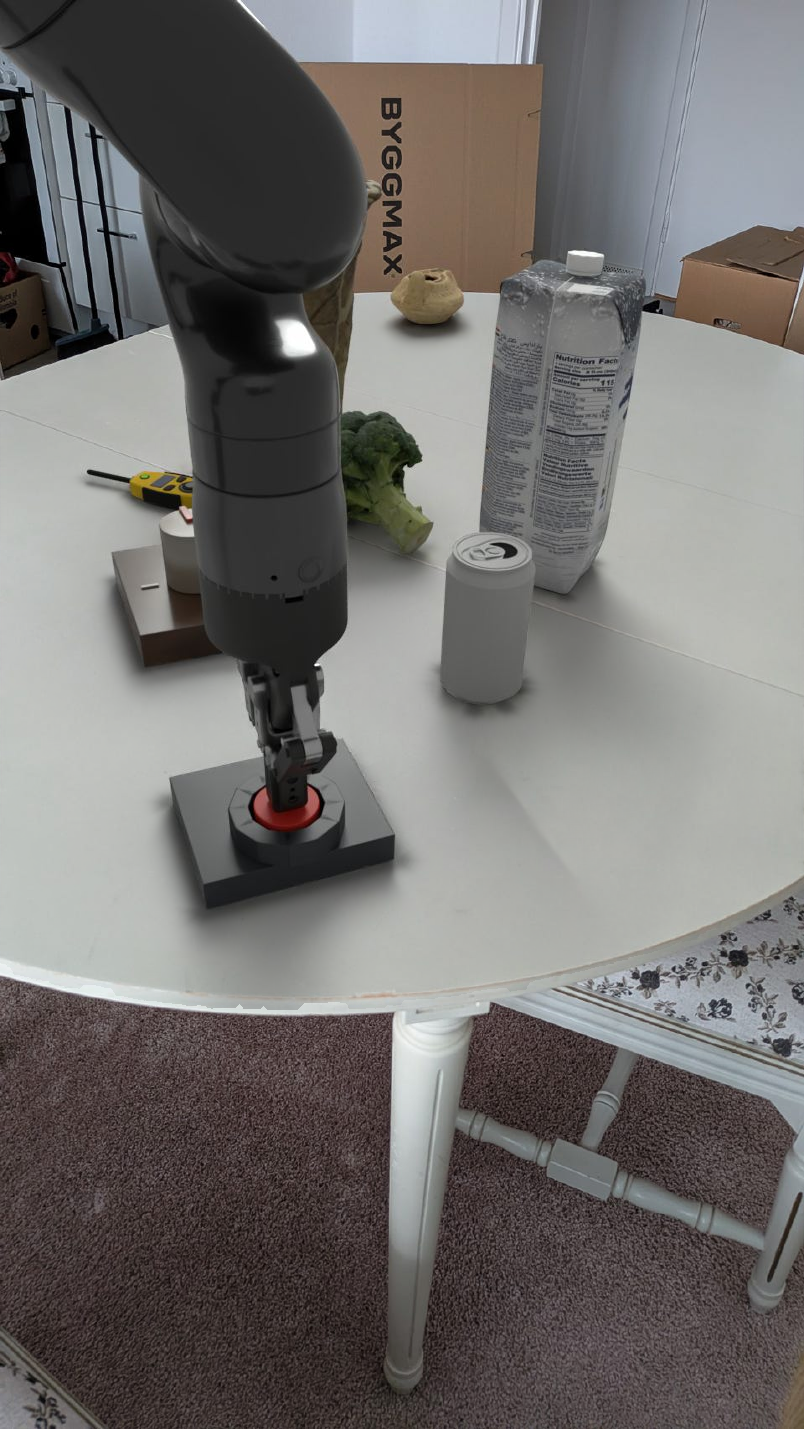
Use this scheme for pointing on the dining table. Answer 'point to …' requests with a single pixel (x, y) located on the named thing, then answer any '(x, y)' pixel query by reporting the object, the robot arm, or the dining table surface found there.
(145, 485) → the yellow walkie talkie
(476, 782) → the dining table surface
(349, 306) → the vase
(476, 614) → the beverage can
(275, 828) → the button
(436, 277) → the oil lamp
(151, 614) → the panel
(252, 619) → the robot arm
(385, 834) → the button block
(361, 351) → the dining table surface
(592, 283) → the juice carton
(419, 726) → the dining table surface
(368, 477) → the vegetable
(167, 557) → the knob
